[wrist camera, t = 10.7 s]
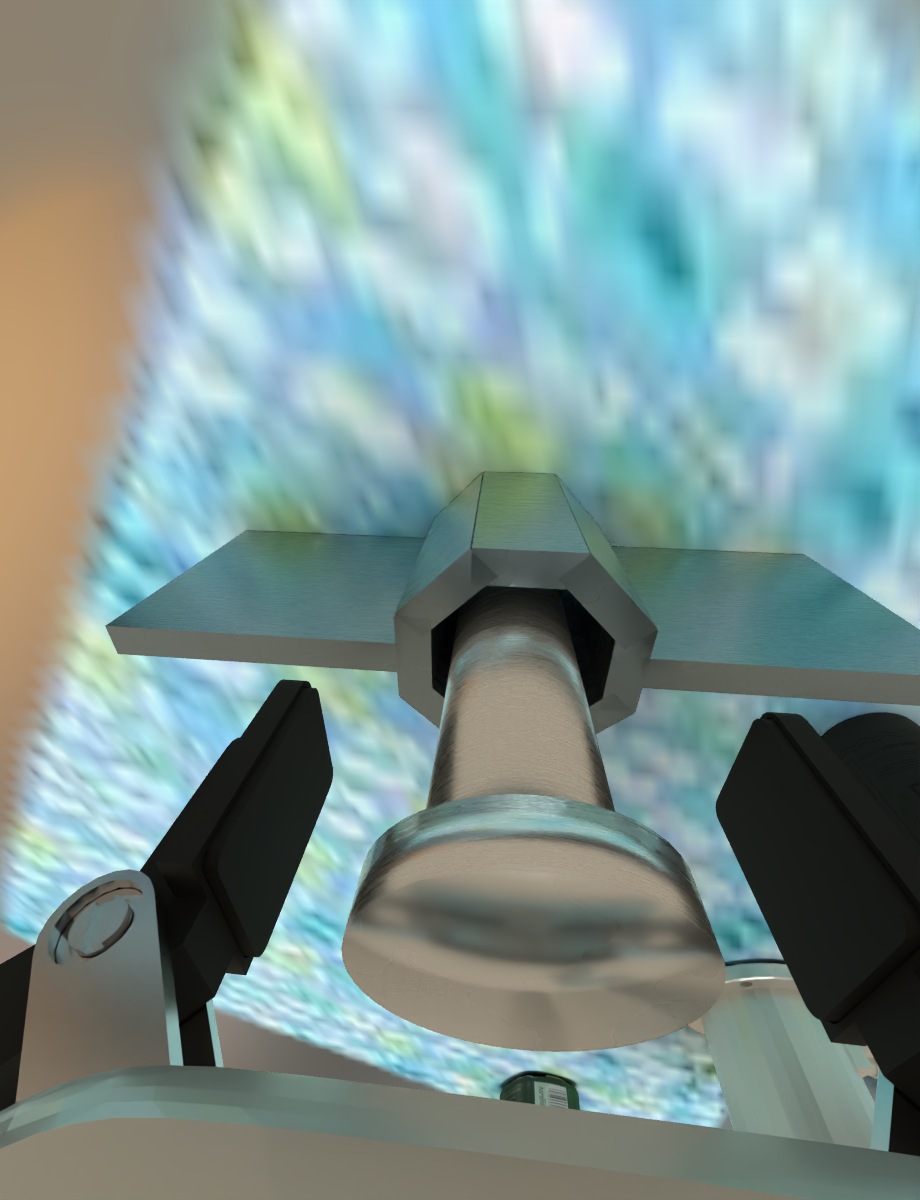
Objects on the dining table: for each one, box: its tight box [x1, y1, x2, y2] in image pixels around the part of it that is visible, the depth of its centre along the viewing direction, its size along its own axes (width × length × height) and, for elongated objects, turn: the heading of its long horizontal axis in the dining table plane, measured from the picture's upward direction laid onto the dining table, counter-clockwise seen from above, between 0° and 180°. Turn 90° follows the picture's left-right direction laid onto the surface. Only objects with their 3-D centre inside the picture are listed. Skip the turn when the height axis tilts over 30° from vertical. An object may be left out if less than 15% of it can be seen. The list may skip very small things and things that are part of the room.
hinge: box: [106, 472, 920, 734], centre depth 16 cm, size 24×7×8 cm, turn 89°
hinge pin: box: [342, 585, 726, 1052], centre depth 13 cm, size 5×5×15 cm
